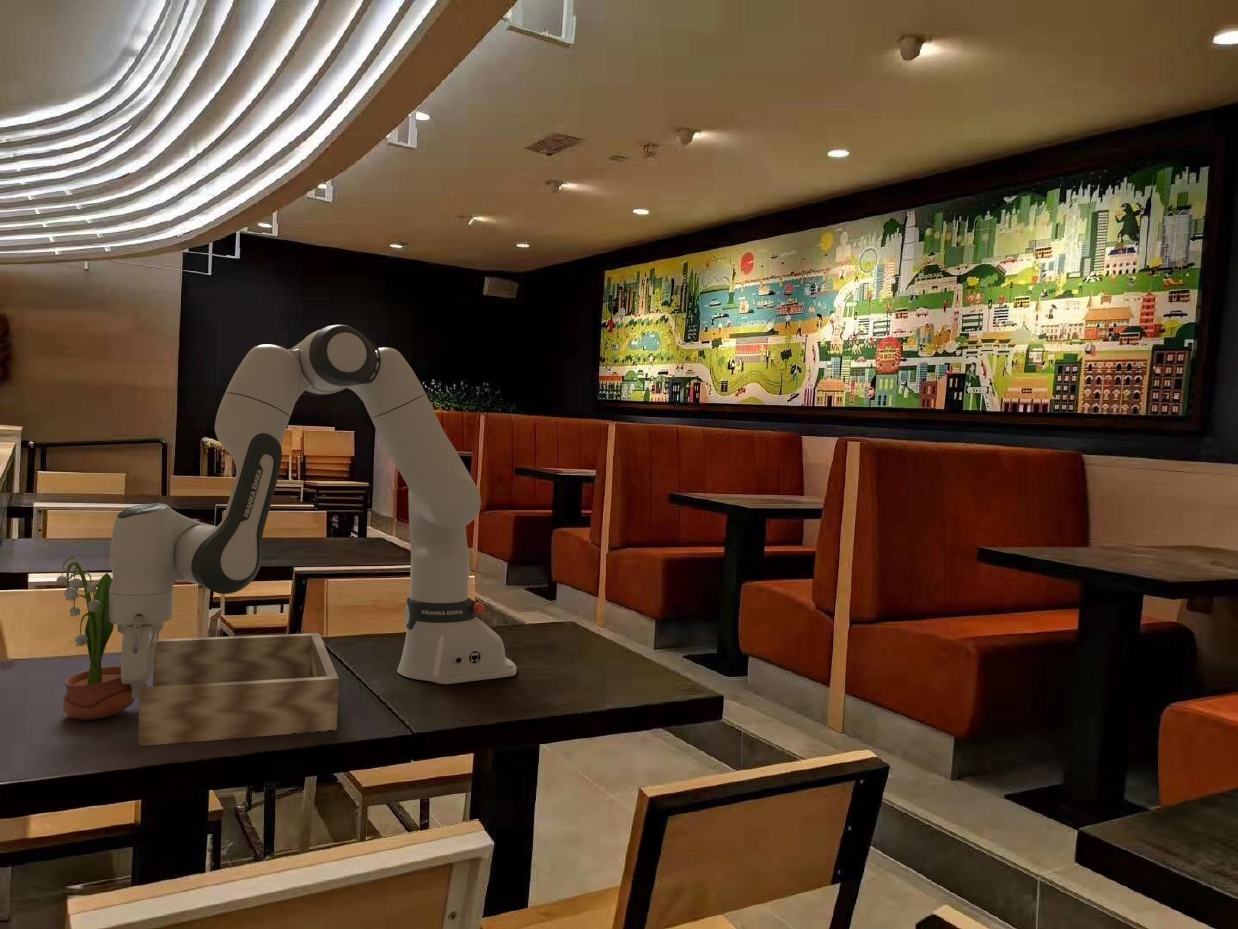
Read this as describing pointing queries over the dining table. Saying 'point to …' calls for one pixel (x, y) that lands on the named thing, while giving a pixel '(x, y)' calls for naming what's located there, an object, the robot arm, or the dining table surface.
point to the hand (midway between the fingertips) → (138, 696)
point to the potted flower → (93, 654)
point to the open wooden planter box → (238, 689)
